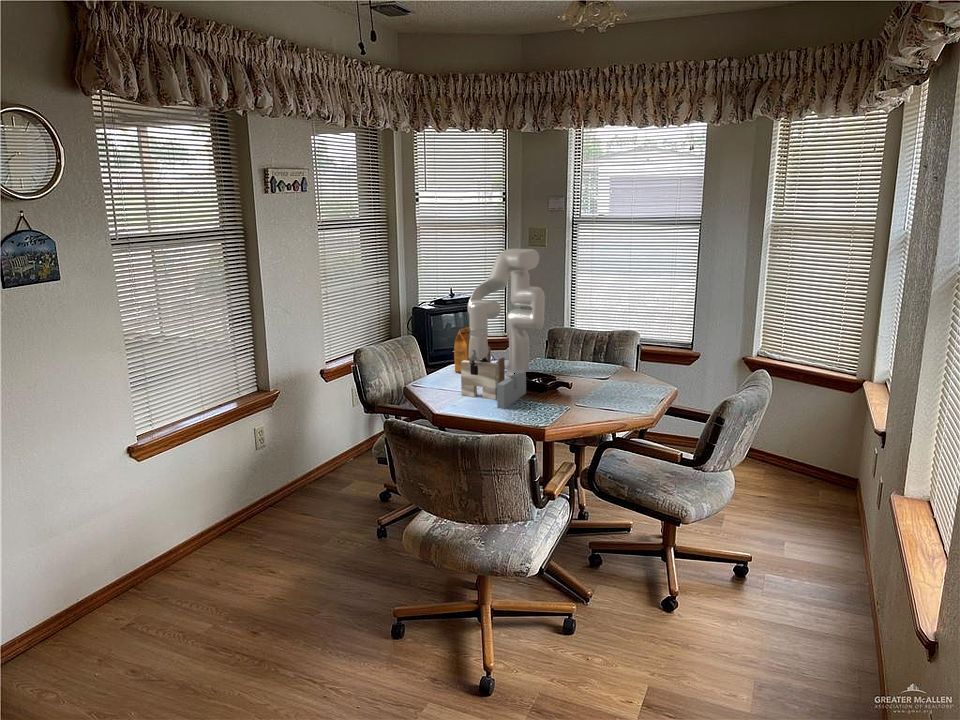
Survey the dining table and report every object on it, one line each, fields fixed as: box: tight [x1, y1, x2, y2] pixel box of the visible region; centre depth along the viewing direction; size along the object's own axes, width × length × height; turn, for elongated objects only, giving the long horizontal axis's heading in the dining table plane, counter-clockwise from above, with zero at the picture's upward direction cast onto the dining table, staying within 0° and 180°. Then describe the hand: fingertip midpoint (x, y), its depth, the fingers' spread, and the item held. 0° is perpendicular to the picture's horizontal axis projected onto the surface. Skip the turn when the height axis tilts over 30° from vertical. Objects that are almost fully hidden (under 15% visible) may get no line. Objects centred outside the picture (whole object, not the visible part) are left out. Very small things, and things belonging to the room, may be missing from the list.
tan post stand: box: [487, 345, 506, 384], centre depth 301 cm, size 4×11×18 cm, turn 52°
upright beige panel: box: [460, 360, 498, 401], centre depth 286 cm, size 3×16×15 cm, turn 65°
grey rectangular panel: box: [496, 370, 527, 410], centre depth 281 cm, size 24×3×10 cm, turn 155°
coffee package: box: [453, 326, 480, 374], centre depth 328 cm, size 10×12×22 cm
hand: (479, 372), depth 286 cm, fingers open, 9 cm apart
